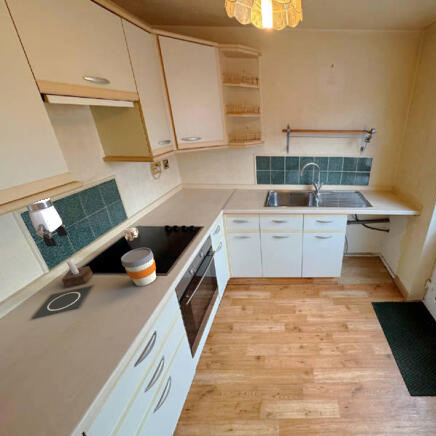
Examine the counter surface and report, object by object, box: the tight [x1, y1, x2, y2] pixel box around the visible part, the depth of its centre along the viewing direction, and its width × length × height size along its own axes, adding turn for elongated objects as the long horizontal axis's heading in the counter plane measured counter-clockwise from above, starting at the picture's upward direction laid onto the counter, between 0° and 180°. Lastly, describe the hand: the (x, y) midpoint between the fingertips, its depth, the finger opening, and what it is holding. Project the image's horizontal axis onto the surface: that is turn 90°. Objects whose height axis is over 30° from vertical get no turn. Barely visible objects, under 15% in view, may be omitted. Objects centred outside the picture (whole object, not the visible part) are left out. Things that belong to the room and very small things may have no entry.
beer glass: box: [123, 226, 144, 250], centre depth 132 cm, size 7×7×15 cm
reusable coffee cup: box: [120, 247, 157, 287], centre depth 109 cm, size 12×13×15 cm
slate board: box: [32, 285, 92, 320], centre depth 100 cm, size 15×14×1 cm
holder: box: [61, 265, 93, 288], centre depth 112 cm, size 8×8×5 cm
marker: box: [66, 258, 79, 275], centre depth 110 cm, size 2×2×12 cm
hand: (58, 240), depth 103 cm, fingers open, 9 cm apart
